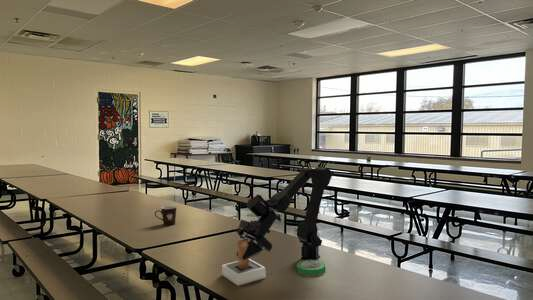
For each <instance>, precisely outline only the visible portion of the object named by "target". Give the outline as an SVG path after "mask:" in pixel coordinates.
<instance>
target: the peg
mask: <svg viewBox="0 0 533 300" xmlns="http://www.w3.org/2000/svg"><path fill="white" fill-rule="evenodd" d="M247 249H248V239H245V238H242V239H240V238H238V239H237V251H238V256H237V261H238V270H240V271H243V270H247V269H249V259H250V257H248V258H247V259H245V260H244V259H242V257H243V255H244V254H245V252H246V250H247Z"/></svg>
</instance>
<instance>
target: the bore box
mask: <svg viewBox="0 0 533 300" xmlns="http://www.w3.org/2000/svg"><path fill="white" fill-rule="evenodd" d="M266 274H267V273H266V267H265V266H264V265H262V264H260V263H258V262H256V261H254V260H253V259H251V258H249V269H247V270H243V271H240V270H238V260H236V261H233V262H228V263H225V264H221V275H222V277H224V278H226V279H227V280H229V281H230V282H231V283H233V284H234V285H236V286H237V287H238V286H242V285H246V284H249V283H253V282H256V281H261V280H263V279H266V276H267V275H266Z"/></svg>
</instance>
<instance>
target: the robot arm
mask: <svg viewBox="0 0 533 300" xmlns="http://www.w3.org/2000/svg"><path fill="white" fill-rule="evenodd" d="M332 177H333V172H332V171H331V169H330V168H328V167H315V168H306V167H304V168H303V167H302V168H301V169H300V170H299V173H298V174H297V175H295V177H294V178H293V179H291V181H290V182H289V183H288V184H287V185H286V186H285V187H284V188H283V189H282V190H280V191H278V192H276V193H274V195H272V196H271V197H270V198H268V199H266V200H265V199H264V198H263V197H262V195H261V194H256V195H255V196H253V197H251V198H250V199H248V201H247V202H246V208H247V209H248V210H249V211H250V212H251V213H252V214H253V215H255V216H256V217H257V218H258V217H259V218H258V219H257V220H250V221H248V220H245V219H243V218H242V219H240V222H239V225H238V227H237V228H236V229H235V233H236V234H237V235H238V236H239V239H242V238H245V239H248V249H247V250H246V252H245V254H244V255H243V257H242V259H244V260H245V259H247V258H248V257H249V258H250V257H252V256H254V255H255V254H257V253H260V252H261V251H262V252H263V251H264V250H265V251H267V252H271V250H272V249H273V244H272V242H270V241H269V240H268V239H267V238H266V235H267V234H270V233H271V230H270V229H271V228H272V226H273V225H274V224H275V222H276V221H277V222H282V219H281V214H280V213H285V212H286V211H288V208H289V207H290V205H291V203H292V199H293V198H294V196H295V195H297V193H298V192H299V191H300V190H301V189H302V188H303V186H304V185H306V184H307V182H308V181H309V180H310V181H311V185H312V188H311V193H310V195H309V196H310V197H309V200H308V203H307V204H308V205H307V209H306V212H305V216H304V219H303V220H302V222H301V221H299V222H298V223H297V228H296V230H295V232H296V237H297V239H298V240H299V243H301V244H302V246H301V247H300V248H301V253H300V254H301V258H300V259H301V260H302V261H303V260H319V258H321V256H320V255H319V254H320V253H319V252H320V251H319V250H320V249H319V247H321V245H322V243H323V240H322V239H321V238H320V237H319V236H318V230H319V229H318V225H317V219H318V215H319V211H320V208H321V203H322V199H323V196H324V191H325V189H326V188H327V187H328V186H329V184H330V182H331V179H333V178H332ZM276 212H278V213H276ZM264 236H265V237H264ZM263 248H264V249H263ZM236 256H237V257H238V250H237V253H236Z"/></svg>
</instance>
